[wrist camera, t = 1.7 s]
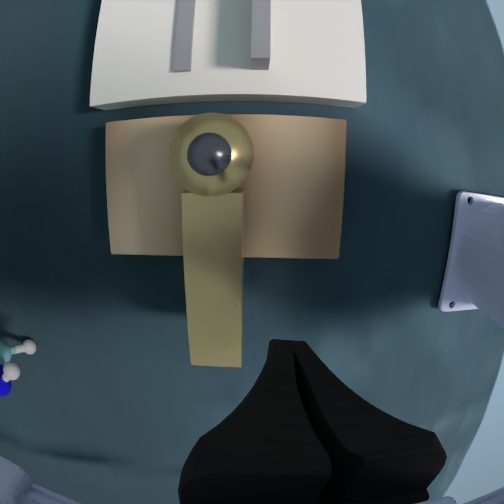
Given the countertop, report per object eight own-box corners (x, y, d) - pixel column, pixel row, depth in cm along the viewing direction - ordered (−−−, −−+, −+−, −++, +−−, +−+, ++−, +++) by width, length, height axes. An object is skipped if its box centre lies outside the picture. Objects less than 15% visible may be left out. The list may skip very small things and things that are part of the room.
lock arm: (186, 122, 14) (166, 113, 11) (255, 122, 14) (254, 110, 11) (192, 334, 17) (179, 373, 14) (250, 337, 17) (249, 377, 14)
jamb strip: (337, 123, 16) (346, 119, 14) (330, 248, 18) (338, 259, 16) (120, 125, 16) (105, 122, 14) (124, 244, 18) (111, 254, 16)
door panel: (348, -17, 13) (367, -49, 9) (354, 108, 16) (380, 95, 12) (119, -10, 13) (93, -38, 10) (105, 110, 16) (70, 101, 12)
